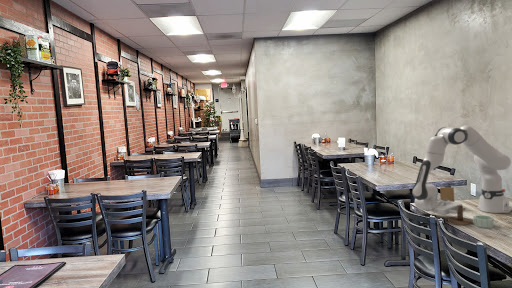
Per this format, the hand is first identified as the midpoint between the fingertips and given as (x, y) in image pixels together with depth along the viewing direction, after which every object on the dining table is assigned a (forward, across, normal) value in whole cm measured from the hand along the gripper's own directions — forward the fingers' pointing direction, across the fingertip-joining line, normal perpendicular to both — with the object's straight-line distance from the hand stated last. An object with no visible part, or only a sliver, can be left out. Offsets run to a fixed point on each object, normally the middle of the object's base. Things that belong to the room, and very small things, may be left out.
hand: (461, 210), depth 216 cm
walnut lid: (-1, 0, +7) cm, 7 cm away
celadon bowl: (+11, +3, +7) cm, 14 cm away
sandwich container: (-26, +30, +7) cm, 41 cm away
